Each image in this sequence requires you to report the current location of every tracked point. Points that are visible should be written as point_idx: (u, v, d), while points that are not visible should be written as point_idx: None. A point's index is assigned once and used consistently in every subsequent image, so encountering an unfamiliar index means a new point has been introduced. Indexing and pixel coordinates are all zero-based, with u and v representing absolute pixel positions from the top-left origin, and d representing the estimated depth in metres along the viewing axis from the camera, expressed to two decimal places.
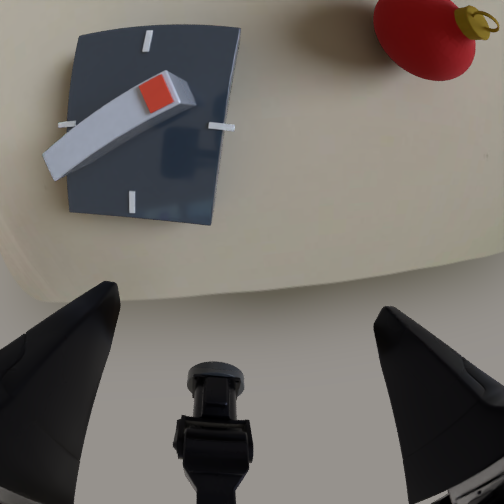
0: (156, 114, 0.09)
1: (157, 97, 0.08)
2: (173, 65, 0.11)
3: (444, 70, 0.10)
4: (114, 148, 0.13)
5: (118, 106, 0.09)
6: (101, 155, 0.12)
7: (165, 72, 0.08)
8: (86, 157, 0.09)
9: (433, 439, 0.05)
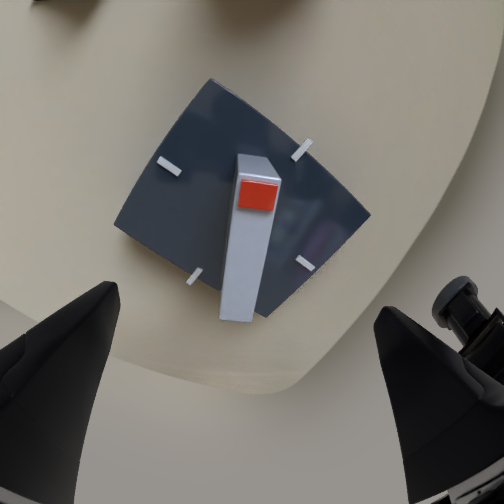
0: (275, 205, 0.10)
1: (263, 196, 0.09)
2: (212, 155, 0.13)
3: None
4: None
5: (240, 233, 0.10)
6: None
7: (241, 175, 0.09)
8: (259, 285, 0.12)
9: (433, 439, 0.05)
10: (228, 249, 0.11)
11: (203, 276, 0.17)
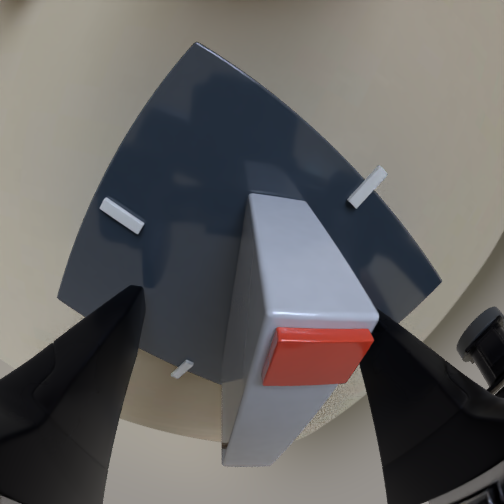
0: None
1: (331, 365, 0.03)
2: (200, 196, 0.07)
3: None
4: None
5: (265, 408, 0.04)
6: None
7: (275, 316, 0.03)
8: None
9: (413, 448, 0.05)
10: (237, 422, 0.05)
11: (196, 369, 0.11)
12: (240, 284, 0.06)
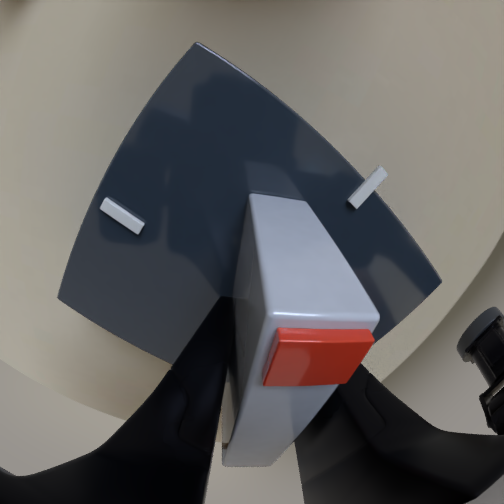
0: None
1: (331, 365, 0.03)
2: (200, 196, 0.07)
3: None
4: None
5: (265, 409, 0.04)
6: None
7: (276, 316, 0.03)
8: None
9: (324, 472, 0.04)
10: (238, 423, 0.05)
11: None
12: (240, 284, 0.06)
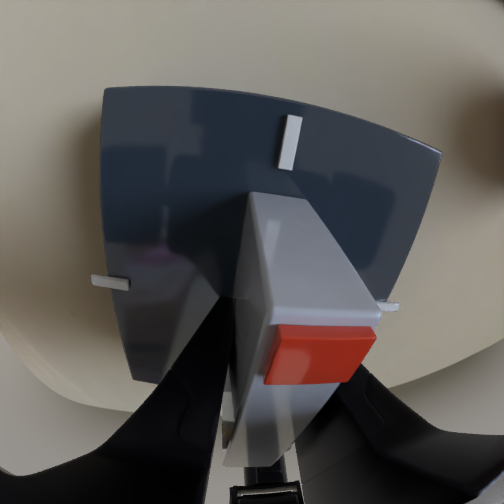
0: None
1: (333, 363, 0.03)
2: (338, 208, 0.07)
3: None
4: None
5: (265, 408, 0.04)
6: None
7: (276, 313, 0.03)
8: None
9: (324, 471, 0.04)
10: (238, 422, 0.04)
11: (120, 294, 0.08)
12: (241, 283, 0.06)
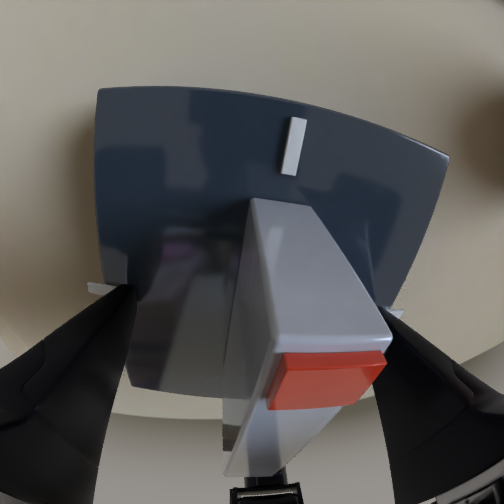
0: None
1: (340, 389, 0.03)
2: (343, 215, 0.07)
3: None
4: None
5: (268, 427, 0.04)
6: None
7: (281, 341, 0.03)
8: None
9: (420, 445, 0.05)
10: (239, 440, 0.04)
11: None
12: (242, 295, 0.06)
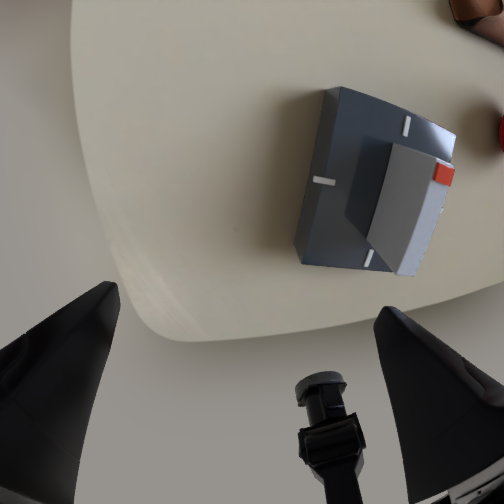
0: None
1: (447, 175, 0.11)
2: None
3: None
4: None
5: (429, 201, 0.12)
6: None
7: (436, 159, 0.11)
8: (427, 243, 0.13)
9: (433, 439, 0.05)
10: (420, 212, 0.12)
11: (326, 189, 0.16)
12: (400, 173, 0.14)
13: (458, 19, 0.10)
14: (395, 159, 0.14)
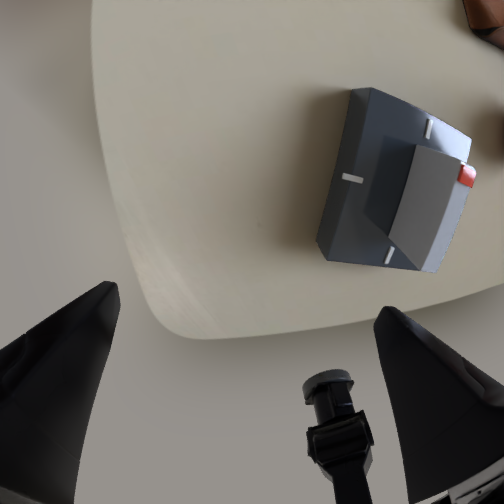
0: None
1: (470, 177, 0.11)
2: None
3: None
4: None
5: (453, 201, 0.12)
6: None
7: (461, 161, 0.10)
8: (449, 241, 0.13)
9: (434, 439, 0.05)
10: (445, 211, 0.12)
11: (354, 186, 0.16)
12: (424, 173, 0.14)
13: (473, 28, 0.10)
14: (419, 160, 0.14)
